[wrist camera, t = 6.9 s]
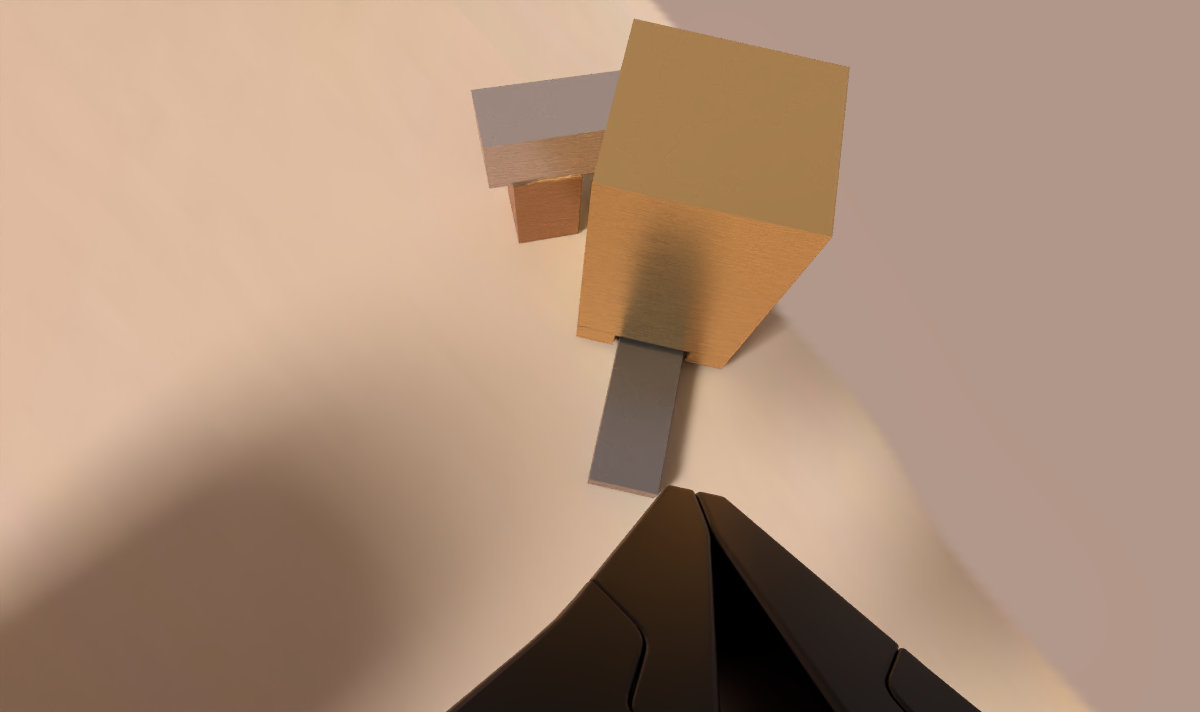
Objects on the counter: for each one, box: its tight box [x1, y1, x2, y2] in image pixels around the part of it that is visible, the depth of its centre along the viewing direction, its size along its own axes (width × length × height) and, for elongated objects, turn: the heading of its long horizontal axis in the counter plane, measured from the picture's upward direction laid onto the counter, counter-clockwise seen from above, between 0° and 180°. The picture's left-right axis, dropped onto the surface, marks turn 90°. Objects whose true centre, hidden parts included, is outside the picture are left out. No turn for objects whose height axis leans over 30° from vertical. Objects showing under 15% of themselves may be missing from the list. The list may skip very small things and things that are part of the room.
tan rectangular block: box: [576, 19, 849, 369], centre depth 20 cm, size 5×6×10 cm
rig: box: [471, 70, 684, 498], centre depth 22 cm, size 13×9×6 cm, turn 168°
